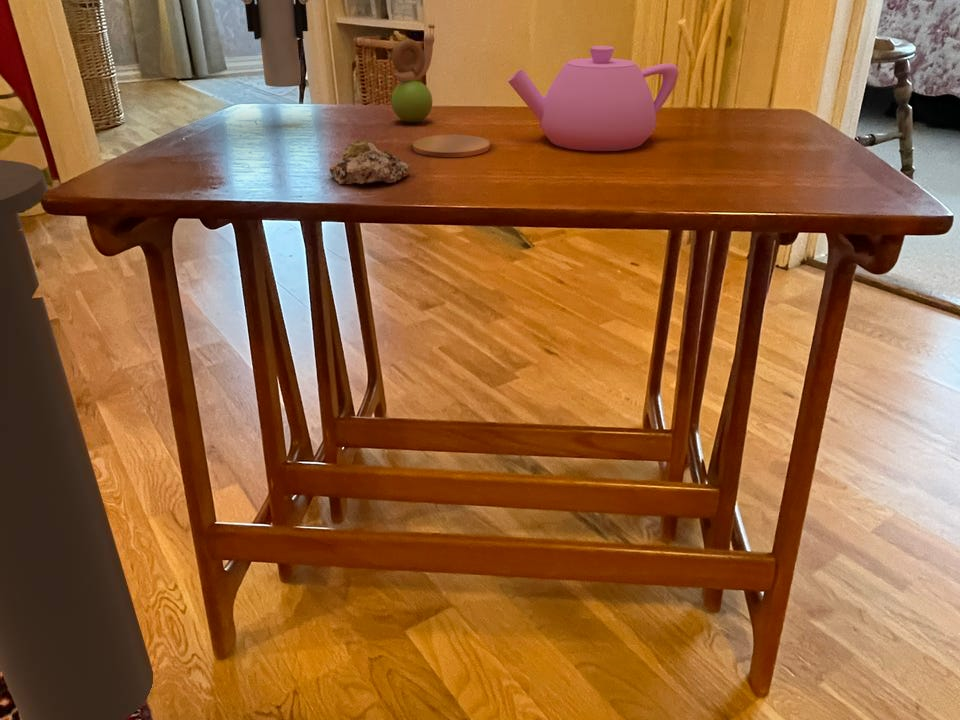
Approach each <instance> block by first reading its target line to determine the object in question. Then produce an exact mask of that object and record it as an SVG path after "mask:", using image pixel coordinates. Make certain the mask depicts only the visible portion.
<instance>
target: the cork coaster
mask: <svg viewBox="0 0 960 720" xmlns="http://www.w3.org/2000/svg"><path fill="white" fill-rule="evenodd" d="M490 148H491V143H490V141H489V140H488V139H486V138H484V137H480V136H475V135H468V134H439V135H431V136H426V137H421V138H418V139H416V140H415V141H413V142H412V149H413V151H414V153H417V154H419V155H423V156H426V157H427V156H428V157H433V158H435V157H436V158H464V157H472V156H473V157H474V156H478V155H481V154H484V153H487V152H488V151H489V150H490Z"/></svg>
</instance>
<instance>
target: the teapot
mask: <svg viewBox="0 0 960 720" xmlns="http://www.w3.org/2000/svg"><path fill="white" fill-rule="evenodd" d="M614 50H615V47H613V46H610V45H593V46H590V47H589V52H590V56H591V57H587V58H586V57H584V58H583V57H582V58H575V59H570V60H568V61H566V62H565V63H564V64H563V66H562V67H561V68H560V70H559V71H558V73H557V75H556V76H555V78H554V79H553V81H552V83H551V85H550V86H549V88H548V90H547V92H546V94H545V97H544V96H543V94H542V93H541V92H540V90H539V89H538V88H537V86H536V84H534V82H533V80H532V79H531V77H530V76H529V75H528V73H526V71H525V69H524V68H521V69H519V70H518V71H516V72H515V73H514V74H513V75H512V76H511V77H510V78H509V79H508V80H507V82H508V84H509V85H510V86H511V87H512V89H513V90H514V91H515V92H516V94H517V95H518V96H519V97H520V99H521V100H522V101H523V103H525V105H526V106H527V108H528V109H530V110H531V113H532V114H533V115H534V116H535V117H536V118H537V120H539V126H540V129H541V131H542V133H543V134H544V135H545V136H546V138H547V139H548V140H549V141H550V143H551V144H553V145H555V146H557V147H561V148H565V149H568V150H569V149H570V150H575V151H576V150H577V151H584V152H585V151H586V152H615V151H616V152H617V151H626V150H630V149H635V148H639V147H640V146H642V145H643V144H644V143H645V142H646V141H647V140H648V139H649V137H650V136H651V135H652V134H653V133H654V131H655V129H656V127H657V126H656V125H657V114H659V111H660V110H661V109H662V107H663V105H665V103H666V101H667V100H668V98H669V97H670V95H671V93H672V92H673V90H674V89H675V86H676V84H677V81H678V78H679V72H680V71H679V68H678V66H677V65H676V64H674V63H670V62H667V63H659V64H656V65H651V66H648V67H645V68H643V69H641V68H640V66H639V65H638V64H637V63H636V62H635V61H633V60H629V59H625V58H624V59H623V58H615V57H614V58H612V57H613V54H614ZM653 75H661V76H662V81H661V85H660V88H659V90H658V93H657V95H656V98H655V99H654V97H653V94H652V91H651V88H650V87H649V84H648V82H647V80H646V78H647V77H650V76H653Z"/></svg>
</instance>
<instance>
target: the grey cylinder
mask: <svg viewBox="0 0 960 720" xmlns="http://www.w3.org/2000/svg"><path fill="white" fill-rule="evenodd" d="M255 4H257V9H258V18H259V28H260V37H261V38H259V40H260V49H261V56H262V59H261V60H262V67H263V77H264V85H265V86H268V87H274V88H290V87H298V86H301V84H302V79H301V78H302V77H301V66H300V55H299V54H300V53H299V43H298V38H297V30H296V19H295V7H294V4H295V0H255Z"/></svg>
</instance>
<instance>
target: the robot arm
mask: <svg viewBox="0 0 960 720" xmlns="http://www.w3.org/2000/svg"><path fill="white" fill-rule="evenodd" d="M241 1H242V2H243V4H244V8H245V9H244V10H245V18H246V25H247V26H246V27H247V32H248V33H253V36H254V37H253V39H254V40H260V38H261V37H260V28H259V18H258V9H257V3H256V0H241ZM308 2H309V0H294V7H295V19H296V30H297V39H298V40H304V32H309V26H308V25H309V24H308V23H309V22H308V11H307V3H308Z"/></svg>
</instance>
